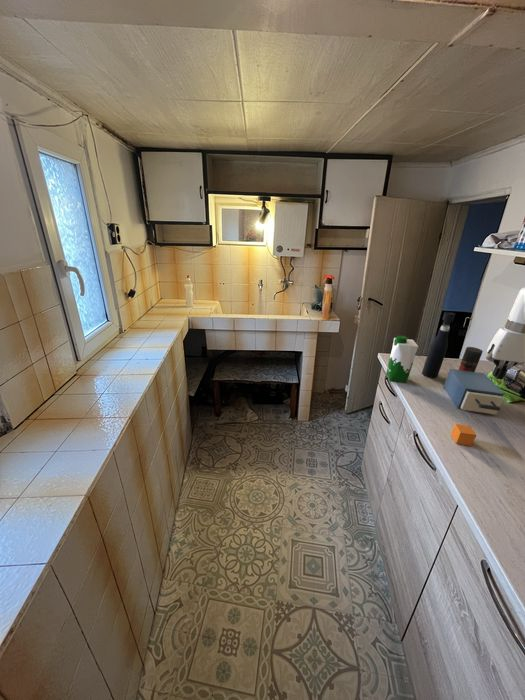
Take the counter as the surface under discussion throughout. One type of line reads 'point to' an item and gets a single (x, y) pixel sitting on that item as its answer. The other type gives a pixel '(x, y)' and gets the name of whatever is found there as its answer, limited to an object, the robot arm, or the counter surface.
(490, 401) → the white drawer
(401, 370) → the milk carton
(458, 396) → the blue drawer cabinet
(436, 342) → the black water bottle
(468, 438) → the small orange cuboid
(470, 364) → the deodorant
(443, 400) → the counter surface
